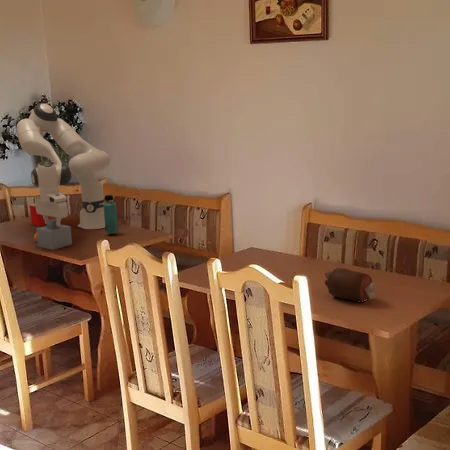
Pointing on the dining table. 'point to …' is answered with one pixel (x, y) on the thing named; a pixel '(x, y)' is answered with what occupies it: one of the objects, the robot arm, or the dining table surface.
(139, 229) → the dining table surface
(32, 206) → the mug
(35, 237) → the ball
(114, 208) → the beverage bottle
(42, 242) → the gray lidded box
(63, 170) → the robot arm
